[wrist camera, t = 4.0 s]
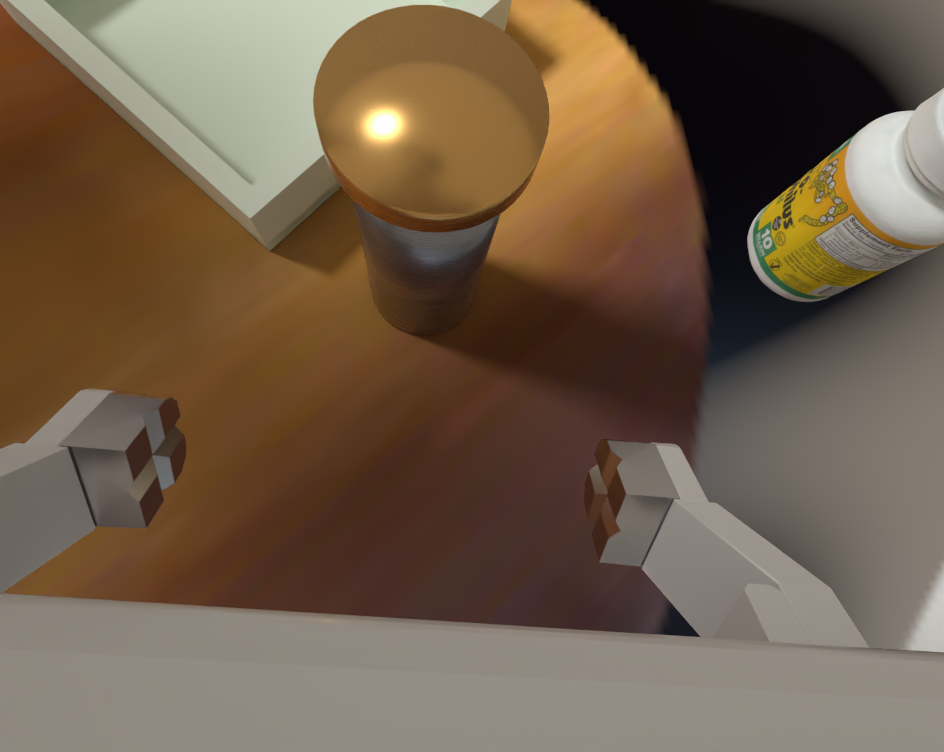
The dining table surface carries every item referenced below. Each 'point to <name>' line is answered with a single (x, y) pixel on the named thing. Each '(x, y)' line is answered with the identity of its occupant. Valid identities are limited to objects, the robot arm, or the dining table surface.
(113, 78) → the tray
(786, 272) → the supplement bottle
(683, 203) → the dining table surface
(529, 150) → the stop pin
